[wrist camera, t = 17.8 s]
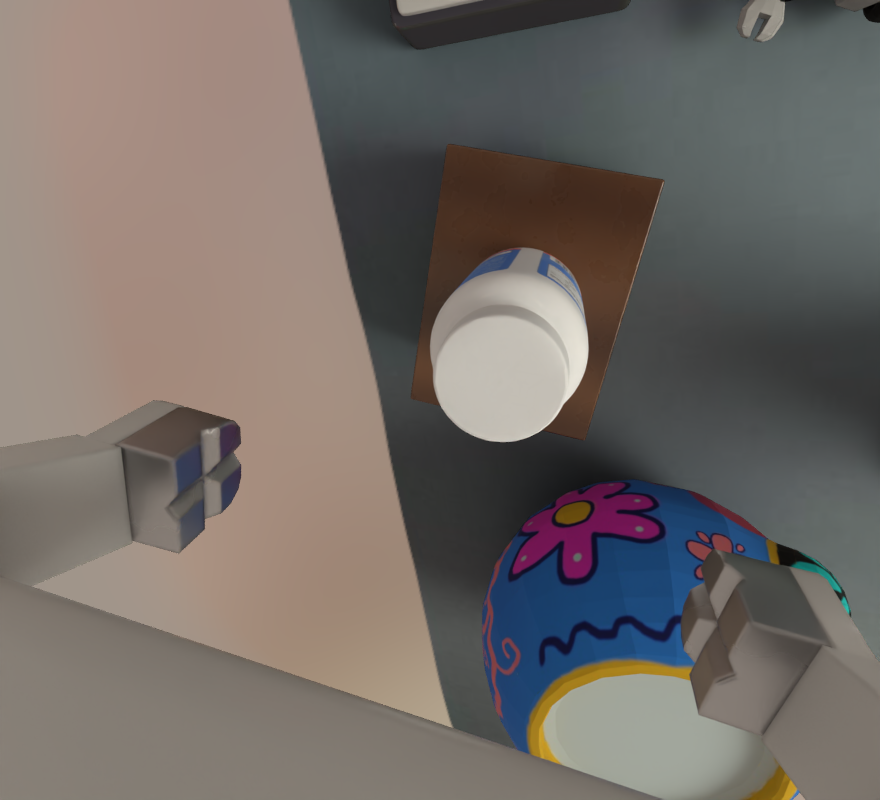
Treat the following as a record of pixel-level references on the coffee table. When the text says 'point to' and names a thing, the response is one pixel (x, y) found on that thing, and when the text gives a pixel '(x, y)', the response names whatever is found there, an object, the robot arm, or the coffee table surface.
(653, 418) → the coffee table surface
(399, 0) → the calculator
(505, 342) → the pill bottle
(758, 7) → the robot toy
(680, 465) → the coffee table surface
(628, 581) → the ceramic pot
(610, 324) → the step block
